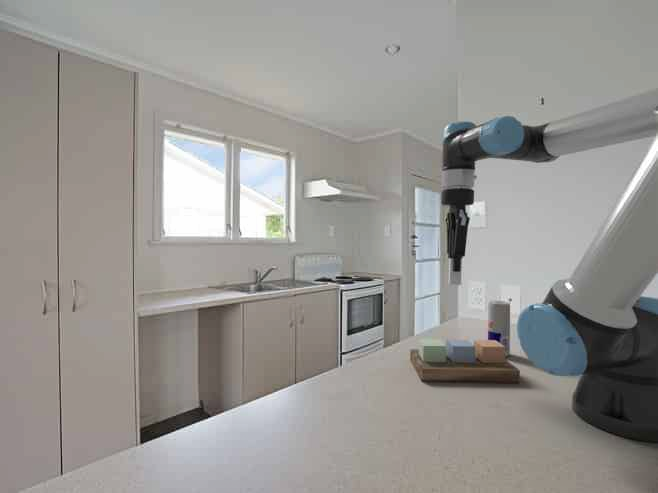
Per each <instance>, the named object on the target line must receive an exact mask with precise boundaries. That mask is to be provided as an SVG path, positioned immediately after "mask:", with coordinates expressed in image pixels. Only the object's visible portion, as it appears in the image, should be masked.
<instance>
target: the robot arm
mask: <svg viewBox="0 0 658 493" xmlns="http://www.w3.org/2000/svg"><path fill="white" fill-rule="evenodd" d="M652 137H654V138H653V140H652V141H651V143H650V145H649V146H648V148H646V149H647V150H646V151H645V152H644V154H643V156H642V158H641V159H640V161H639V163H638V164H637V166H636V167H635V169H634V171H633V173H632V174H631V176H630V178H629V179H628V181H627V182H626V184H625V186H624V187H623V190H621V193H620V194H619V196H618V198H617V199H616V201H615V203H614V204H613V206H612V207H611V209H610V211H609V213H608V214H607V216H606V217H605V219H604V221H603V222H602V224H601V226H600V227H599V229H598V231H597V232H596V235H595V236H594V237H593V239H592V241H591V243H590V244H589V246H588V247H587V249H586V251H585V252H584V254H583V255H582V257H581V259H580V260H579V262H578V264H577V266H576V267H575V269H574V270H573V272H572V274H571V275H570V277H569V278H565V279H560V280H557V281H555V282H554V283H553V284H552V286H551V287H550V289H549V290H548V293H547V295H546V296H545V298H544V300H543V301H542V302H537V303H536V302H535V303H533V304H530V305H528V306H526V307H525V308H524V309H523V310H521V311H520V313H519V315H518V316H517V322H516V335H517V337H518V339H519V342H520V343H519V345H520V346H521V349H522V351H523V353H524V354H525V355H526V356H527V358H528V360H529V361H531V363H532V364H533V365H534V366H535V367H537V368H538V370H539V369H540V370H541V371H542V372H545V373H546V374H549V375H551V376H555V377H567V376H569V377H577V376H578V377H579V376H580V377H579V380H578V381H577V384H576V387H575V390H574V391H573V393H572V397H571V398H572V399H571V408H572V410H573V412H574V413H575V414H576V415H577V416H578V417H579V418H581V419H582V420H583V421H585V422H587V423H589V424H590V425H592V426H594V427H596V428H599V429H601V430H604V431H607V432H609V433H612V434H615V435H617V436H621V437H625V438H628V439H633V440H638V441H643V442H650V443H651V442H652V443H658V297H656V298H655V297H650V296H643V293H644V292H645V291H646V289H647V288H648V286H649V285H650V284H651V283H652V281H654V279H655V277H656V276H657V274H658V87H656V88H654V89H650V90H647V91H644V92H641V93H638V94H635V95H630V96H628V97H626V98H622V99H619V100H616V101H612V102H609V103H607V104H603V105H600V106H596V107H594V108H590V109H588V110H584V111H581V112H578V113H575V114H572V115H569V116H565V117H563V118H560V119H556V120H553V121H551V122H547V123H543V124H541V125H536V126H535V125H534V126H533V125H527V124H525V125H524V124H522V122H521V121H520V120H518V119H517V118H516V117H514V116H513V115H505V116H501V117H496V118H493V119H490V120H489V121H487V122H484V123H481V124H478V125H476V124H475V123H474V122H472V121H458V122H456V123H455V122H453V123H451V124H448V125H447V126H446V127H445V128H444V130H443V140H442V172H441V188H442V189H443V190H442V191H441V200H440V202H441V205H442V206H445V207H446V206H448V207H449V211H448V212H447V214H446V218H445V226H446V254H447V255H448V256H447V258H448V281H447V282H448V285H449V286H451V285H455V286H457V285H458V286H460V285H461V286H462V273H463V272H462V268H463V267H462V265H463V264H462V263H463V257H466V249H467V248H466V247H467V238H468V228H469V224H470V220H471V218H470V216H468V212H467V208H466V206H472V205H474V203H475V190H474V189H473V188H474V187H475V180H476V179H477V178H478V177H477V175H476V174H475V173H476V162H477V161H482V160H486V159H502V160H513V161H522V162H532V163H537V164H540V163H550V162H554V161H556V160H557V159H558V158H560V157H561V156H565V155H569V154H570V155H571V154H574V153H575V154H576V153H580V152H585V151H590V150H594V149H599V148H600V149H601V148H603V147H604V148H605V147H608V146H613V145H617V144H622V143H627V142H628V143H629V142H632V141H633V142H634V141H637V140H641V139H648V138H652Z"/></svg>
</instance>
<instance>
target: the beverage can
mask: <svg viewBox="0 0 658 493" xmlns="http://www.w3.org/2000/svg"><path fill="white" fill-rule="evenodd" d="M487 304H488V307H487V313H488V314H487V315H488V316H487V340H496V341H497V342H499V343H500V344H502V345H503V346H505V357H509V356H510V352H511V351H510V350H511V348H510V346H511V344H510V343H511V305H510V302H509V301H504V300H489V301H488V303H487Z"/></svg>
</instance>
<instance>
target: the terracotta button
mask: <svg viewBox="0 0 658 493" xmlns="http://www.w3.org/2000/svg"><path fill="white" fill-rule="evenodd" d="M473 345H474V346H476V351H475V357H476V358H477V359H478V360H479V361H480V362H482V363H505V360H506V356H505V346H503V345H502V344H500V343H499V342H497V341H496V340H488V339H473Z"/></svg>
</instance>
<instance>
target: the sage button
mask: <svg viewBox="0 0 658 493" xmlns="http://www.w3.org/2000/svg"><path fill="white" fill-rule="evenodd" d="M418 349H419V356H420V358H421V359H422V361H423V362H446V343H444V342H443V340H441V339H439V338H438V339H434V338H432V339H428V338H422V339H421V338H419V339H418Z"/></svg>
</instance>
